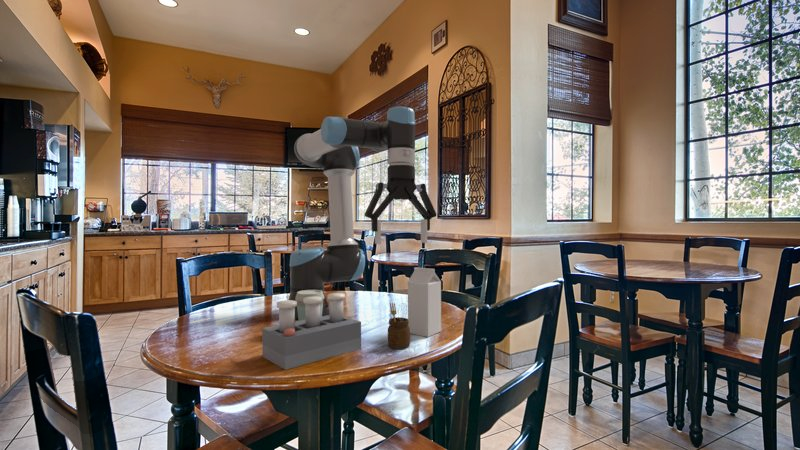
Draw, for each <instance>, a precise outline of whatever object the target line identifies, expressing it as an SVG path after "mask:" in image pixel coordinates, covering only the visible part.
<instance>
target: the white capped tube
mask: <svg viewBox="0 0 800 450" xmlns="http://www.w3.org/2000/svg"><path fill="white" fill-rule="evenodd" d="M296 306H297V301H294V300H287V299H286V300H279V301H277V302H276V308H277V309H278V317H279V318H278V325H279V333H283V334H284V330H285V329H288V328H293V329H295V322H296V319H295V307H296Z"/></svg>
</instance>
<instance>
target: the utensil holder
mask: <svg viewBox="0 0 800 450" xmlns="http://www.w3.org/2000/svg"><path fill="white" fill-rule="evenodd" d="M403 305H404V306H405V310H408V304H406V303H404V302H402V303H400V306H403ZM389 309H390V314H391V315H393V317H391V318H390V319H388V320H389V321H388V327H387V346H388V347H389V348H391V349H394V350H404V349H408V348H410V346H411V333H410V328H409V326H408V324H409V321H408V317H406V316H407V314H408V311H406V312H405V311H403V313H402V314H403V315H404V317H403V316H400V313H397V309H398V311H400V312H402V310H403V309H402V308H396V304H395V303H393V302H389ZM399 309H400V310H399ZM397 314H398V317H396V315H397Z"/></svg>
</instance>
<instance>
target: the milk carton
mask: <svg viewBox="0 0 800 450" xmlns="http://www.w3.org/2000/svg"><path fill="white" fill-rule="evenodd" d="M413 269H414V271H412V272H413V273H412V274H411V275H410V278H409V280H408V281H407V319H408V321H409V324H408V326H409V328H410V335H411V334H412V335H417V336H422V337H427V338H429V337H432V336H433V335H436V334H438V333H440V332H442V280H441V279H440V278H439V276H438V275H437V274H436V272H435V271H436V270H435V268H429V267H428V268H426V267H417V266H416V267H414V268H413Z"/></svg>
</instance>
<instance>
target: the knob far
mask: <svg viewBox="0 0 800 450" xmlns="http://www.w3.org/2000/svg"><path fill="white" fill-rule="evenodd" d="M326 299H327V300H328V305H329V315H330V322H331V323H337V322H341V321H343V317H344V299H346V294H345V293H344V292H343V293H342V292H333V293H328V294H327V296H326Z"/></svg>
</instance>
